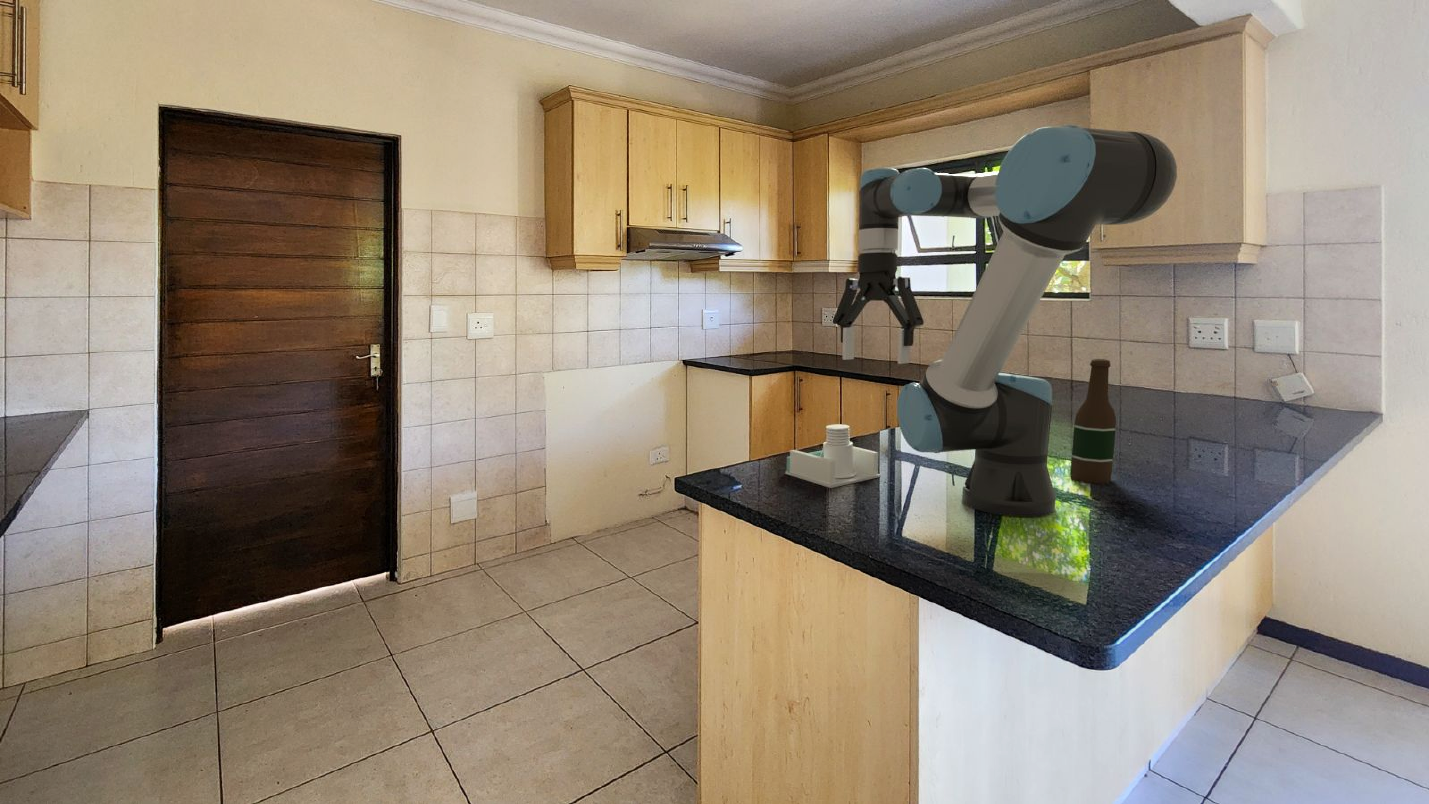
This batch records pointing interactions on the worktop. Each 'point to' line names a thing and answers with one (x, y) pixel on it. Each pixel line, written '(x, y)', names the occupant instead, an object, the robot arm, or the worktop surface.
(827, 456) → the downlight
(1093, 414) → the beer bottle
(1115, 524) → the worktop surface
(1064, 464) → the worktop surface
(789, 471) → the holder
